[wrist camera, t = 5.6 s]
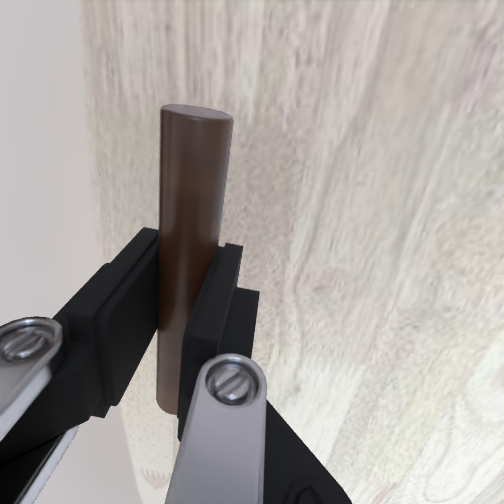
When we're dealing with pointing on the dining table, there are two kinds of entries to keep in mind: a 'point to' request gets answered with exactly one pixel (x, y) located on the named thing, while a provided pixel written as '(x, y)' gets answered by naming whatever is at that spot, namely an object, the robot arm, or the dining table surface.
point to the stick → (186, 226)
